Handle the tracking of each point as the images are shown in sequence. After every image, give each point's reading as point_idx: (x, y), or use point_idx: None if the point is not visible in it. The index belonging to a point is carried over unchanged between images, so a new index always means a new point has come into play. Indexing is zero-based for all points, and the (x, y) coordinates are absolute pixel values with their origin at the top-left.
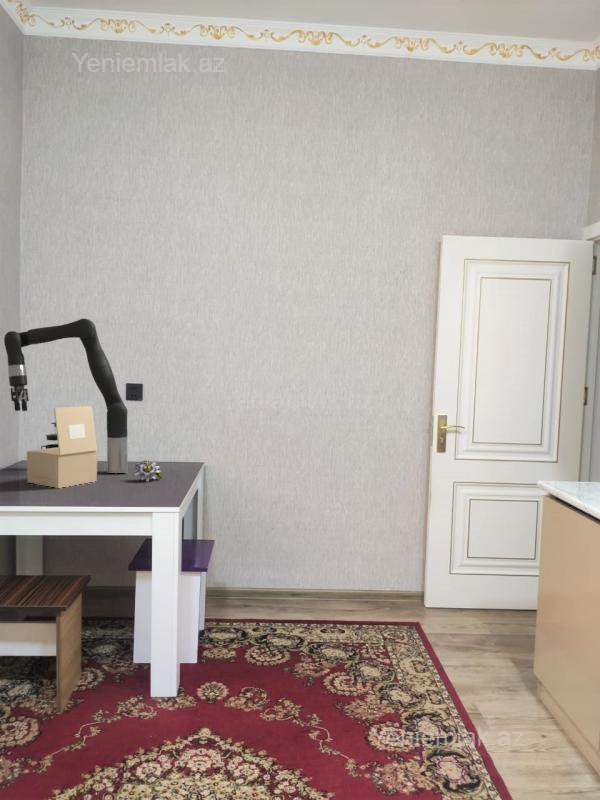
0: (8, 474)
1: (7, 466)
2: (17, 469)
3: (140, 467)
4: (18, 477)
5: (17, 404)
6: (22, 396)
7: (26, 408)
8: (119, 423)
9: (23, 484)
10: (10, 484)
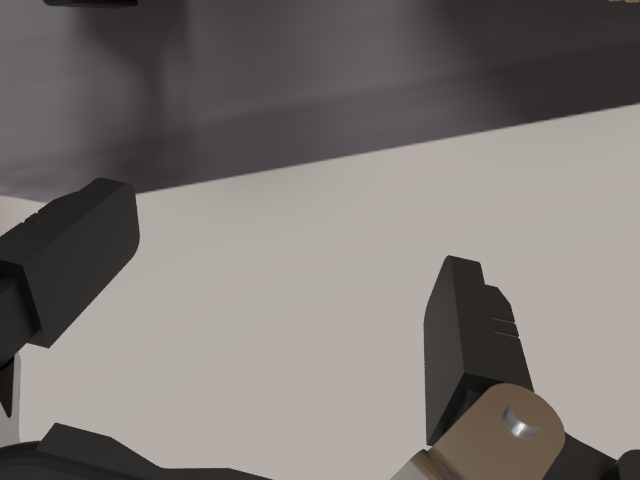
0: (286, 158)
1: None
2: (135, 143)
3: None
4: (386, 92)
5: (522, 369)
6: (124, 473)
7: (110, 200)
8: None
9: (628, 21)
10: (599, 92)
